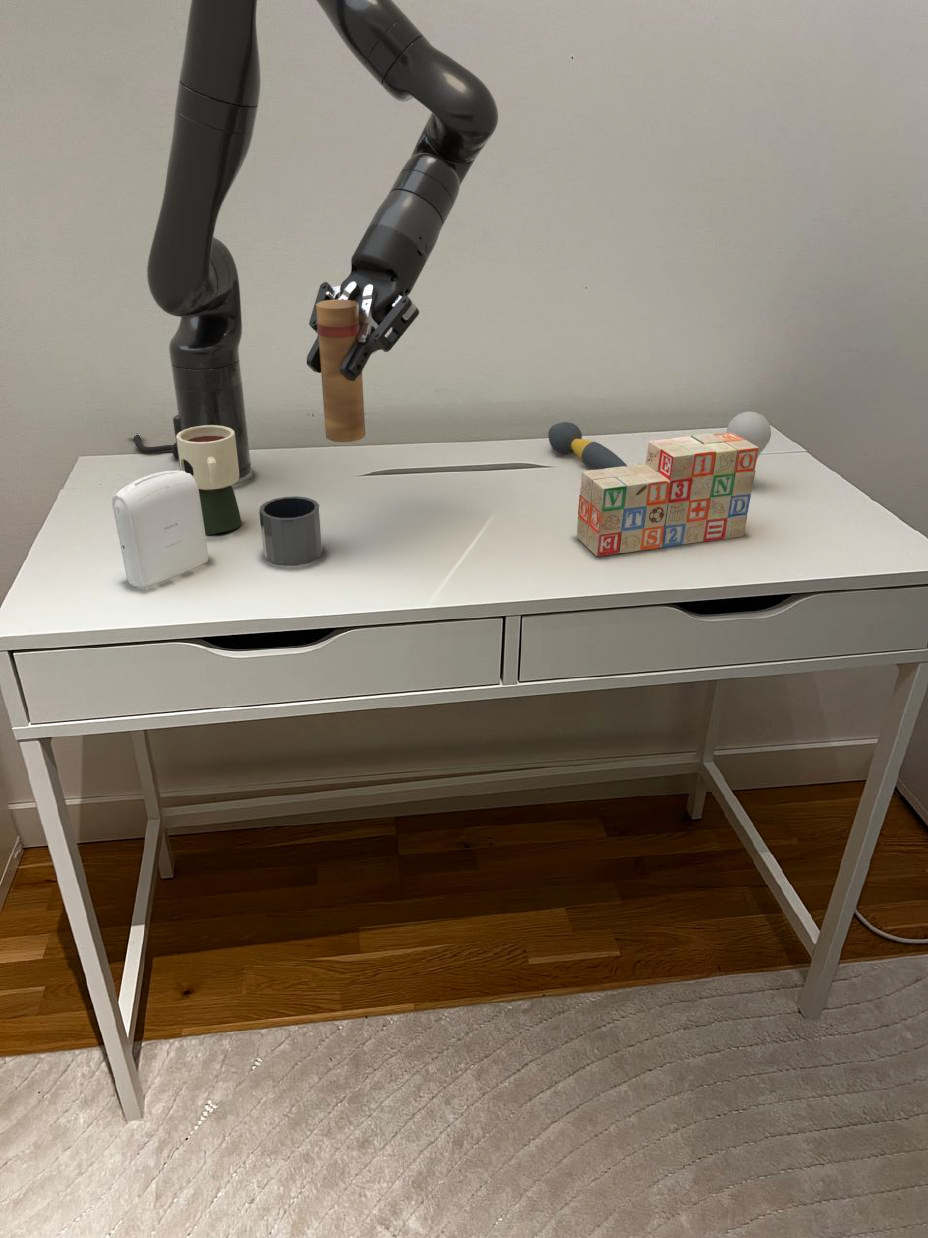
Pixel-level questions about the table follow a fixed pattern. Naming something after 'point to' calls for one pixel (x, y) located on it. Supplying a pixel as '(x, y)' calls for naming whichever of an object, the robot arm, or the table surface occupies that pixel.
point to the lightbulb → (751, 429)
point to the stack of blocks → (669, 495)
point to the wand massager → (582, 447)
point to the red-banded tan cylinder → (339, 393)
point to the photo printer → (160, 527)
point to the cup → (291, 530)
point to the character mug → (212, 473)
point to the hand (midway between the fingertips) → (329, 372)
